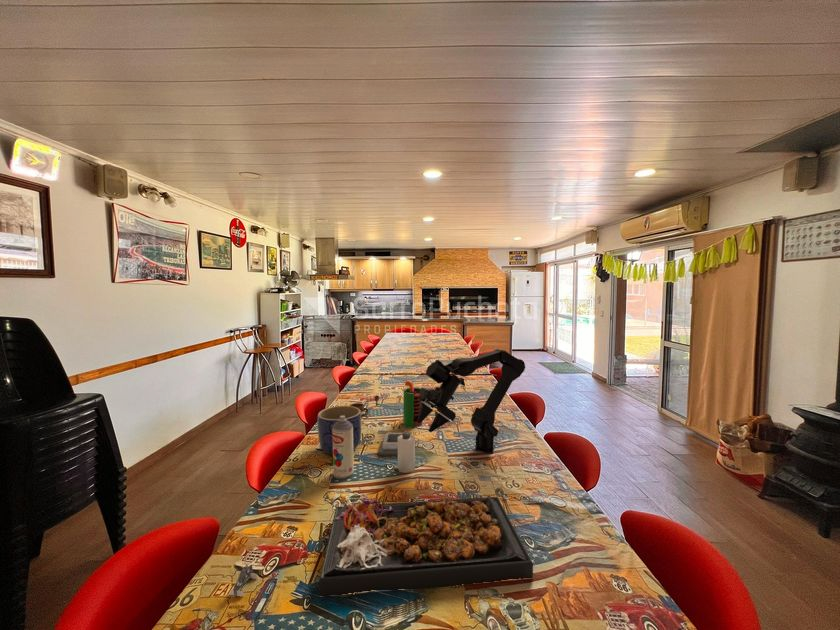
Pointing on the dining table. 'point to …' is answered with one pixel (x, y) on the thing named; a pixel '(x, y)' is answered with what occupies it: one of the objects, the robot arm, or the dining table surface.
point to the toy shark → (243, 580)
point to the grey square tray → (390, 444)
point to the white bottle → (406, 452)
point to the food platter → (421, 546)
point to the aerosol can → (343, 449)
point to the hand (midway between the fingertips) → (423, 427)
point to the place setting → (361, 406)
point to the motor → (411, 405)
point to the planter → (331, 417)
